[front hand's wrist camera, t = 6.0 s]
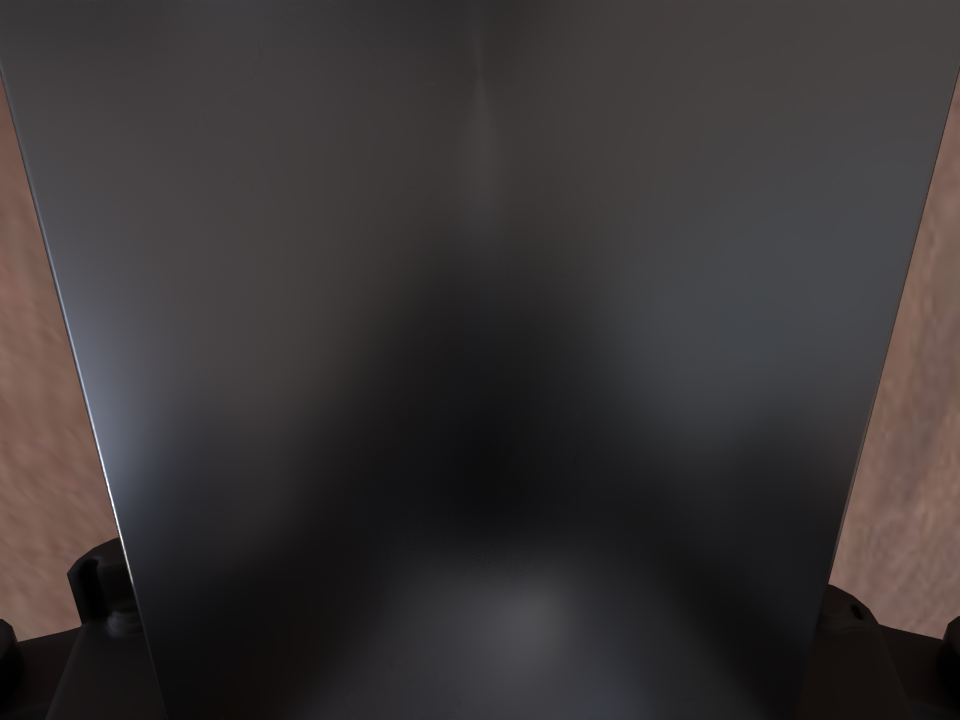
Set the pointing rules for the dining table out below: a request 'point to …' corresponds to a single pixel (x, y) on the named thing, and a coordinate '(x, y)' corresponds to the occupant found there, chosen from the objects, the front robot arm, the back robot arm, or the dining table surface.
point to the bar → (479, 333)
